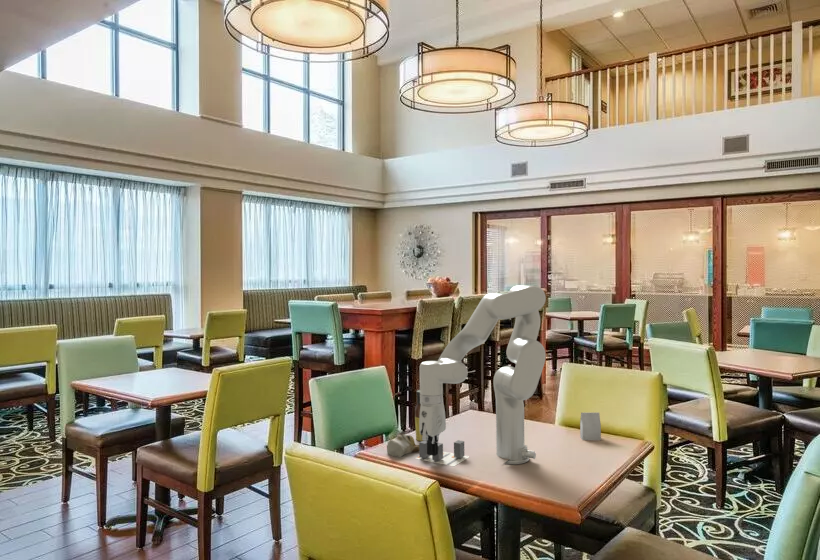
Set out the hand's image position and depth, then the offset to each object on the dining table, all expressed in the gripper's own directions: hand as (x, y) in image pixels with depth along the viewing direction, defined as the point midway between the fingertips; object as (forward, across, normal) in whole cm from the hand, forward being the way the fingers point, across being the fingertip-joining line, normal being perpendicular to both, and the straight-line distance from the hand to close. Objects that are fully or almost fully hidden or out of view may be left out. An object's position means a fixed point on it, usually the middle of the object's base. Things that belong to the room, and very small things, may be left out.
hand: (432, 454), depth 187 cm
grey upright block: (+5, +58, -36) cm, 68 cm away
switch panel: (+4, +7, 0) cm, 8 cm away
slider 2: (+3, +4, 0) cm, 5 cm away
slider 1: (+3, +3, +5) cm, 7 cm away
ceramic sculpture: (+5, +6, +15) cm, 17 cm away
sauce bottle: (+5, +22, +16) cm, 28 cm away
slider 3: (+3, +9, -5) cm, 11 cm away
